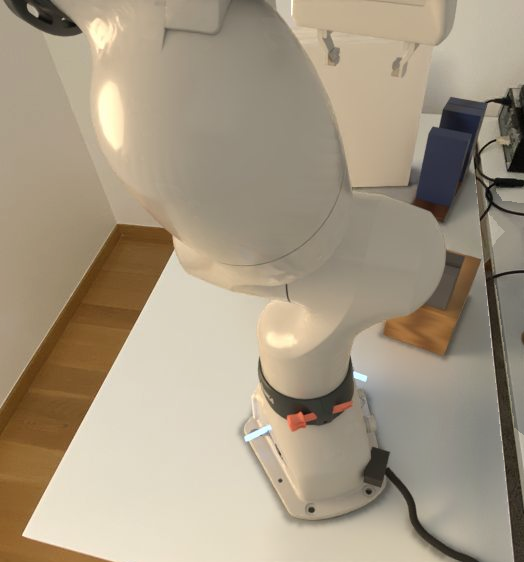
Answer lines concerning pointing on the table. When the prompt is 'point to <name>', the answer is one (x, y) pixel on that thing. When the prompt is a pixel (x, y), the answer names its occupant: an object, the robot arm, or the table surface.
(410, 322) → the oak shelf
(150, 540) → the table surface
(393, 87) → the block
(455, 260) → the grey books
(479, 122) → the book rack
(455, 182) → the navy book
